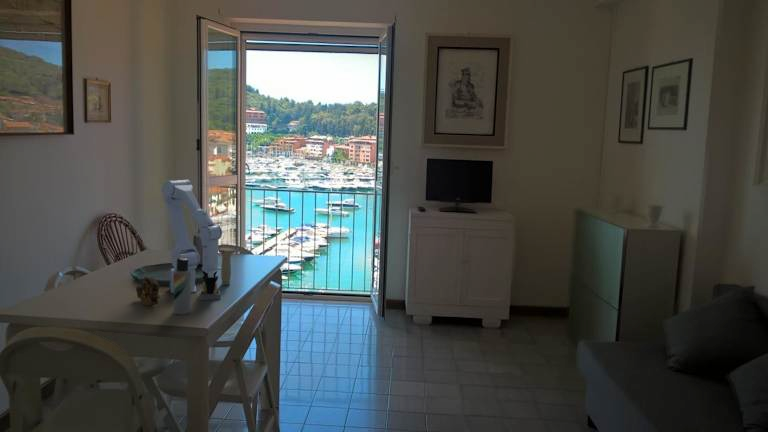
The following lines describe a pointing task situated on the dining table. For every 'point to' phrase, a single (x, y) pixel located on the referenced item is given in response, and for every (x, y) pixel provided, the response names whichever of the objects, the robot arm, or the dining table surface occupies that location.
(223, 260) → the handle
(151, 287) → the wooden carving
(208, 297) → the end cap
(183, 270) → the lotion bottle
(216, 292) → the tan brown block
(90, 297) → the dining table surface
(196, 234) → the pillar candle
